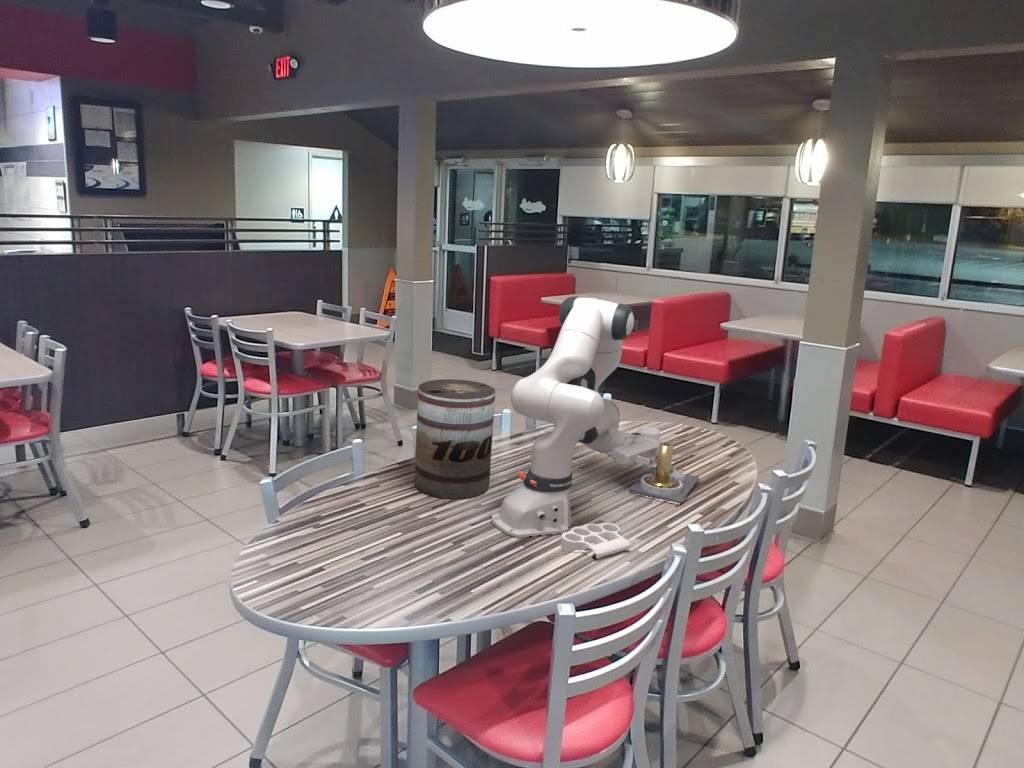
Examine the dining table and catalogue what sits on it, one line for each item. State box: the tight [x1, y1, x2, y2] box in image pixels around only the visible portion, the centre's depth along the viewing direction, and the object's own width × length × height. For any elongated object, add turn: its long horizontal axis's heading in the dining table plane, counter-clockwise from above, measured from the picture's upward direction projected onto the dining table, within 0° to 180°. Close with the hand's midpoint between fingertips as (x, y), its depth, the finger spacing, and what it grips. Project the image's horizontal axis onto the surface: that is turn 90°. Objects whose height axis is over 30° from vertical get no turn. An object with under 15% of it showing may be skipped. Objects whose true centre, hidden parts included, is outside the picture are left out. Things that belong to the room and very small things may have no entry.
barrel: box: [413, 378, 497, 501], centre depth 224 cm, size 22×22×30 cm
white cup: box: [636, 426, 661, 461], centre depth 264 cm, size 8×8×10 cm
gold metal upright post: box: [647, 441, 676, 489], centre depth 232 cm, size 9×9×14 cm
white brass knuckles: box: [560, 522, 631, 559], centre depth 195 cm, size 3×18×15 cm
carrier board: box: [628, 465, 700, 503], centre depth 238 cm, size 24×16×6 cm, turn 153°
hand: (659, 459), depth 233 cm, fingers open, 8 cm apart
